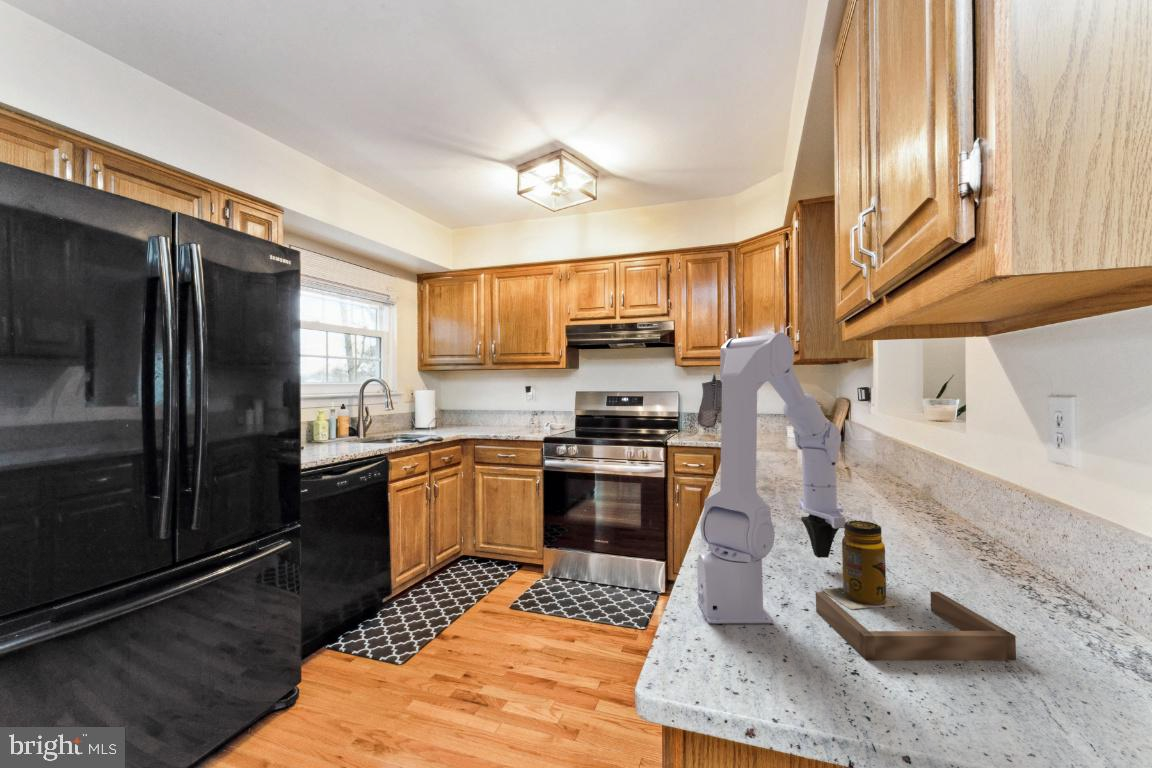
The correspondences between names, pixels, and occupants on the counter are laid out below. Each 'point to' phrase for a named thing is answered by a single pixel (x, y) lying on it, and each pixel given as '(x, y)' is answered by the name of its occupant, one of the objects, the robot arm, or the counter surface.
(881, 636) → the box
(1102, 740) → the counter surface
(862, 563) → the condiment
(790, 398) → the robot arm
